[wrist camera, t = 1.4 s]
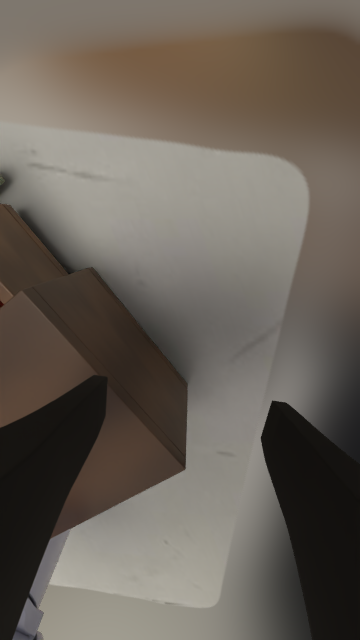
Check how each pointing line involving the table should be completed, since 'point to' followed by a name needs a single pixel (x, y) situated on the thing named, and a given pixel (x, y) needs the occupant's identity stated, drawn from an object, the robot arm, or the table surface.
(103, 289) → the cabinet
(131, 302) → the table surface
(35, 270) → the drawer
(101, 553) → the table surface
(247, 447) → the table surface
